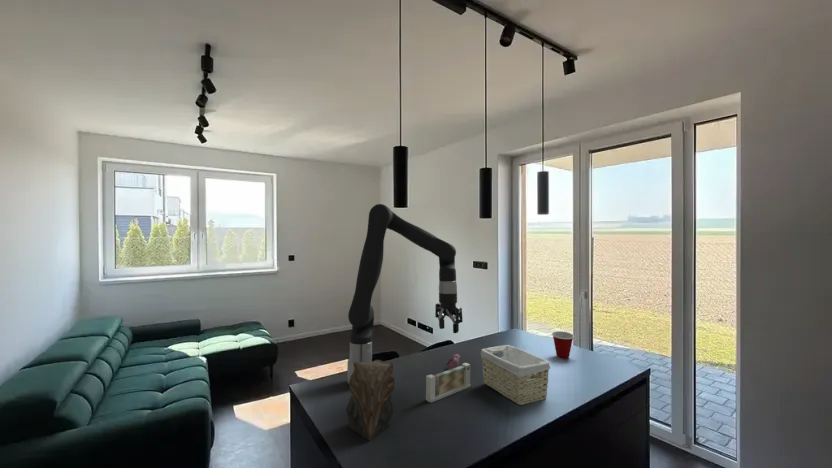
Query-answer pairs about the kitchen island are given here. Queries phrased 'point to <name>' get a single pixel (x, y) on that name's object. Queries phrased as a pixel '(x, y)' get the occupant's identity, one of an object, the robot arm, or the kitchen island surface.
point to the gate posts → (431, 390)
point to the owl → (370, 398)
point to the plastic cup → (562, 343)
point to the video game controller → (453, 362)
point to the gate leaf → (449, 379)
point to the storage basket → (515, 373)
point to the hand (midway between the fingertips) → (448, 330)
